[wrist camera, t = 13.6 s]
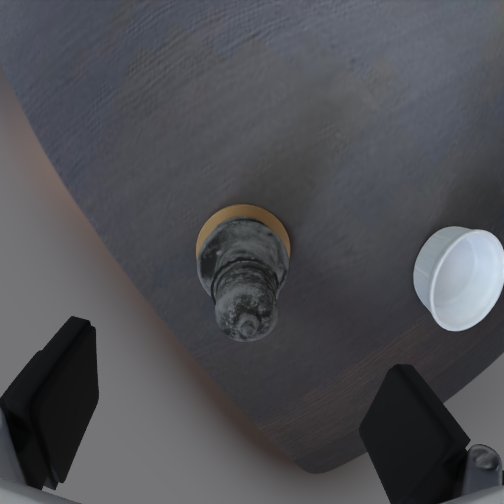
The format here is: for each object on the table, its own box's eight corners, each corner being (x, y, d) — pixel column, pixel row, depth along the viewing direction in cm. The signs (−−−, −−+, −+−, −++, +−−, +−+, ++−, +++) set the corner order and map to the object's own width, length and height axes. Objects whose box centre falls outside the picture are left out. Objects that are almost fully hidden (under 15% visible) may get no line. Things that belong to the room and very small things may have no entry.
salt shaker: (293, 268, 25) (340, 357, 13) (224, 300, 25) (218, 406, 14) (261, 198, 23) (288, 235, 12) (188, 233, 23) (146, 301, 12)
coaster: (190, 284, 25) (189, 286, 25) (205, 195, 23) (205, 196, 23) (277, 299, 26) (278, 302, 25) (298, 214, 24) (300, 215, 24)
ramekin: (408, 323, 27) (431, 346, 23) (402, 233, 25) (429, 246, 21) (477, 294, 27) (503, 311, 23) (476, 210, 25) (506, 219, 21)
